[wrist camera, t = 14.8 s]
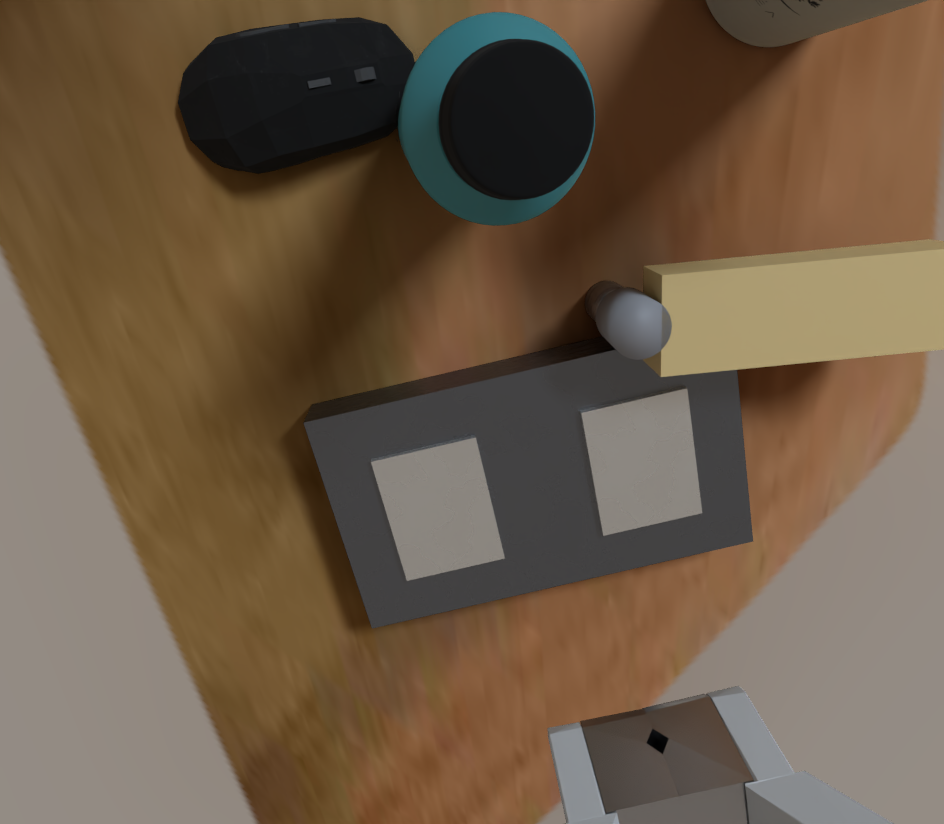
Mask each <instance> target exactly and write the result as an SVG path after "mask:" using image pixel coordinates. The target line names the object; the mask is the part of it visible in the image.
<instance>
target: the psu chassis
mask: <svg viewBox="0 0 944 824" xmlns="http://www.w3.org/2000/svg"><path fill="white" fill-rule="evenodd" d="M619 288H624V287H622V286H621V285H619V284H617V283H616V282H613V281H601V282H598V283H596V284H595V285H593V286H592V287H591V288H590V289H589V291H588V293H587V295H586V298H585V308H586V311H587V313H588V314H589V316H590V317H591V318H592V319H593V320H594V321H596V312H597V308H598V306H599V304H600V302H601V301H602V300H603V298H604V297H605V296H606V295H607V294H609V293H610V292H612V291H614V290H616V289H619ZM304 426H305V429H306V432H307V435H308V438H309V441H310V444H311V447H312V450H313V453H314V456H315V459H316V462H317V465H318V468H319V471H320V474H321V477H322V480H323V483H324V486H325V489H326V492H327V495H328V498H329V501H330V504H331V507H332V510H333V513H334V516H335V519H336V522H337V525H338V528H339V531H340V534H341V537H342V540H343V543H344V546H345V549H346V552H347V555H348V558H349V561H350V564H351V567H352V570H353V573H354V576H355V579H356V582H357V585H358V588H359V591H360V594H361V597H362V600H363V603H364V606H365V609H366V612H367V615H368V618H369V621H370V624H371V627H372V628H376V627H380V626H385V625H389V624H393V623H398V622H402V621H407V620H411V619H415V618H420V617H424V616H428V615H433V614H437V613H442V612H446V611H450V610H455V609H459V608H463V607H468V606H472V605H477V604H481V603H485V602H490V601H494V600H498V599H503V598H507V597H512V596H516V595H520V594H525V593H529V592H533V591H538V590H542V589H547V588H551V587H555V586H560V585H564V584H568V583H573V582H577V581H582V580H586V579H590V578H595V577H599V576H603V575H608V574H612V573H616V572H621V571H625V570H630V569H634V568H638V567H643V566H647V565H651V564H656V563H660V562H665V561H669V560H673V559H678V558H682V557H686V556H691V555H695V554H700V553H704V552H708V551H713V550H717V549H721V548H726V547H730V546H735V545H739V544H743V543H748V542H752V541H753V536H752V525H751V514H750V504H749V493H748V482H747V471H746V461H745V450H744V439H743V428H742V418H741V407H740V396H739V385H738V375H737V370H728V371H718V372H708V373H698V374H687V375H677V376H667V377H660V376H659V375H658V374H657V373H656V372H655V371H654V370H653V369H652V368H651V367H649V366H648V365H647V364H646V363H645V362H644V361H643V359H641V360H635V359H630V358H627V357H625V356H623V355H621V354H620V353H619V352H618V351H617V350H616V349H615V348H614V347H613V346H612V345H611V344H610V343H609V342H608V341H607V340H606V339H605V338H604V337H598V338H594V339H590V340H586V341H581V342H577V343H573V344H569V345H564V346H560V347H556V348H551V349H547V350H543V351H539V352H534V353H530V354H526V355H522V356H517V357H513V358H509V359H505V360H500V361H496V362H492V363H487V364H483V365H479V366H475V367H470V368H466V369H462V370H458V371H453V372H449V373H445V374H441V375H436V376H432V377H428V378H423V379H419V380H415V381H411V382H406V383H402V384H398V385H394V386H389V387H385V388H381V389H377V390H372V391H368V392H364V393H359V394H355V395H351V396H347V397H342V398H338V399H334V400H330V401H325V402H321V403H317V404H313V405H311V407H310V410H309V412H308V414H307V416H306V418H305V421H304Z"/></svg>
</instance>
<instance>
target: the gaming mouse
mask: <svg viewBox="0 0 944 824" xmlns="http://www.w3.org/2000/svg"><path fill="white" fill-rule="evenodd" d="M415 63H416V62H414V58H413V54H412V52H411V51H410V50H409V49H408V48H407V47H406V46H405V44H404V43H403V42H402V41H401V40H400V39H399V38H398V37H397V35H396V34H395V33H394V32H393V31H392V30H391V29H390V27H389V26H387V25H386V24H382V23H378V22H374V21H371V20H367V19H363V18H359V17H358V18H341V19H324V20H315V21H308V22H300V23H292V24H284V25H277V26H269V27H262V28H255V29H249V30H245V31H241V32H237V33H233V34H229V35H225V36H221V37H217V38H215V39H214V40H213V41H212V42H211V43H210V44H209V45H208V46H207V47H206V48H205V49H204V50H203V51H202V52H201V53H200V54H199V55H198V56H197V57H196V58H195V59H194V60H193V61H192V62H191V63H190V64H189V66H188V67H187V69H186V70H185V72H184V73H183V78H182V83H181V89H180V94H179V100H178V104H179V107H180V110H181V113H182V116H183V119H184V122H185V125H186V128H187V131H188V134H189V137H190V140H191V141H192V142H193V143H194V144H195V145H196V146H197V147H198V148H199V149H200V150H201V151H202V152H203V153H204V154H205V155H206V156H207V157H208V158H209V159H210V160H212V161H213V162H214V163H216V164H218V165H220V166H222V167H225V168H229V169H233V170H238V171H247V172H252V173H258V174H259V173H265V172H270V171H274V170H278V169H282V168H285V167H289V166H293V165H297V164H300V163H303V162H306V161H309V160H312V159H315V158H318V157H321V156H325V155H329V154H332V153H336V152H340V151H343V150H347V149H351V148H354V147H357V146H360V145H363V144H366V143H369V142H372V141H375V140H378V139H381V138H384V137H387V136H388V135H389V134H390V133H391V132H392V131H393V130H394V129H395V127H396V128H397V127H398V116H399V109H400V105H401V100H402V96H403V93H404V89H405V86H406V83H407V82H406V81H407V80H408V78H407V77H409V74H410V72H411V70H412V69H413V67H414V65H415ZM413 64H414V65H413ZM405 82H406V83H405ZM399 92H400V97H399ZM395 112H396V113H395Z"/></svg>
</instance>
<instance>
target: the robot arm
mask: <svg viewBox="0 0 944 824" xmlns="http://www.w3.org/2000/svg"><path fill="white" fill-rule="evenodd" d="M580 723H581V725H580ZM580 723H579V722H577V723H572V724H566V725H561V726H556V727H551V728H548V739H549V743H550V748H551V753H552V757H553V762H554V767H555V772H556V776H557V781H558V786H559V790H560V795H561V800H562V804H563V809H564V814H565V819H566V823H565V824H894V823H892V822H890V821H889V820H887V819H885V818H884V817H882V816H880V815H879V814H877V813H875V812H873V811H872V810H870V809H869V808H867V807H865V806H863V805H862V804H860V803H858V802H857V801H855V800H853V799H852V798H850V797H848V796H847V795H845V794H843V793H842V792H840V791H838V790H836V789H835V788H833V787H831V786H830V785H828V784H826V783H825V782H823V781H821V780H819V779H818V778H816V777H815V776H813V775H811V774H809V773H807V772H806V771H802V772H796V773H794V771H793V769H792V768H791V766H790V764H789V763H788V761H787V759H786V758H785V756H784V754H783V753H782V752H781V750H780V748H779V746H778V745H777V743H776V741H775V740H774V738H773V736H772V735H771V733H770V732H769V730H768V728H767V727H766V725H765V723H764V722H763V720H762V718H761V717H760V715H759V713H758V712H757V710H756V708H755V707H754V705H753V704H752V702H751V700H750V699H749V697H748V695H747V694H746V692H745V690H743V689H742V688H741V687H739V686H735V687H731V688H727V689H723V690H718V691H714V692H710V693H707V694H701V695H697V696H693V697H688V698H684V699H680V700H676V701H671V702H667V703H663V704H658V705H654V706H650V707H646V708H642V709H639V710H634V711H629V712H624V713H619V714H614V715H609V716H603V717H598V718H593V719H588V720H583V721H580Z"/></svg>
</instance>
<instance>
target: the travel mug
mask: <svg viewBox="0 0 944 824" xmlns="http://www.w3.org/2000/svg"><path fill="white" fill-rule="evenodd" d="M924 1H927V0H706V3H707V5H708V7H709V9H710V11H711V13H712V15H713V16H714V18H715V19H716V21H717V22H718V23H719V24H720V26H721V27H722V28H723V29H724V30H725V31H726V32H728V33H729V34H730V35H732V36H733V37H735V38H736V39H738V40H740V41H742V42H744V43H747V44H750V45H754V46H759V47H778V46H783V45H787V44H791V43H794V42H797V41H800V40H803V39H807V38H810V37H813V36H816V35H819V34H823V33H826V32H829V31H832V30H835V29H838V28H842V27H845V26H848V25H851V24H854V23H858V22H861V21H864V20H867V19H870V18H873V17H877V16H880V15H883V14H886V13H889V12H892V11H896V10H899V9H902V8H905V7H908V6H912V5H915V4H918V3H921V2H924Z"/></svg>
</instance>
